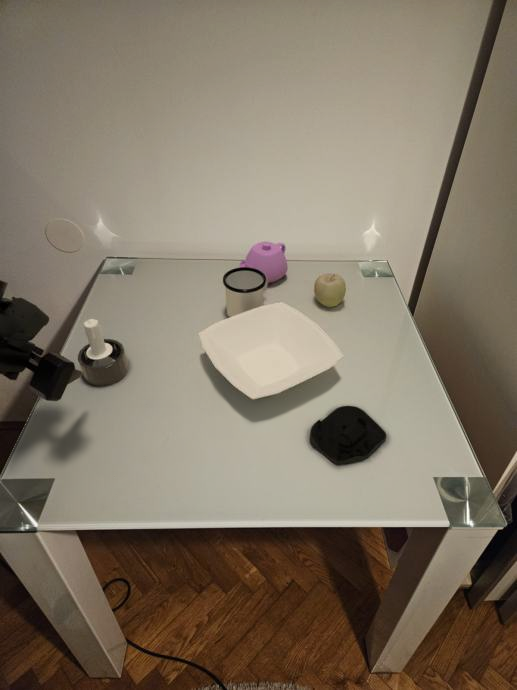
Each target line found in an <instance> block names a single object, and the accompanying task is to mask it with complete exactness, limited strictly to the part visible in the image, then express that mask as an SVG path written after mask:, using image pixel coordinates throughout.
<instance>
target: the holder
mask: <svg viewBox="0 0 517 690" xmlns="http://www.w3.org/2000/svg"><path fill="white" fill-rule="evenodd" d="M103 339H104V343H108V344H110V345H111V346H112V352H111V354H110V355H109V356H108V357H111V358H112V359H113V360H115V361H114V362H112V363H111V364H108V365H106V366H101V367H92V366H93V363H94V361H95V360H94V359H90V358H89V357H88V356H87V354H86V352H87V350H88V348H89V347H90V344H89V343H88V344H85V345H84V346H83V347H82V348H81V349H80V350H79V352H78V354H77V362H78V365H79V368H80V371H81V372H82V375H83V378H84V379H85V381H86V382H87V383H88V384H90V385H93V386H98V387H103V386H104V387H106V386H110V385H114V384H116V383H117V382H120V381H121V380H122V379H123V378H124V377H125V376H126V375H127V374H128V371H129V361H128V359H127V354H126V350H125V347H124V346H123V344H122V342H120V341H118V340H115V339H113V338H103Z"/></svg>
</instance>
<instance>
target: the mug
mask: <svg viewBox="0 0 517 690" xmlns="http://www.w3.org/2000/svg"><path fill="white" fill-rule="evenodd" d="M222 284H223V286H224V287H225V306H226V307H225V309H226V314H227V317H228V318H230V317H232V316H235V315H238V314H240V313H243V312H246V311H249V310H252V309H254V308H257V307H260V306H263V305H264V294H265V293H266V292H267V289H268V285H267V276H265V274H264V273H263V272H261V271H260V270H257V269H255V268H250V267H240V266H239V267H235V268H233V269H230V270H228V271H226V272H225V273H224V275H223V277H222Z"/></svg>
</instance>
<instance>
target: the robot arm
mask: <svg viewBox="0 0 517 690" xmlns="http://www.w3.org/2000/svg"><path fill="white" fill-rule="evenodd" d="M8 285H9V282H7V281H5V280H2V279H0V375H2V376H4V377H5V378H7V379H8V380H10V381H17V380H18V378H19V375H20V373H23V372H24V371H25V370H26V369H27V370H29V371H30V372H32V373H33V375H32V377H31V379H30V381H29V383H28V385H29V389H30V391H31V392H32V393H34V394H36V395H37V396H39V397H40V398H42V399H44V400H45V401H47V402H58V401H60V400H62V397H63V395H64V393H65V391H66V390H67V387H68V385H69V384H72V383H73V382H74V381H77V380H78V379H80V378H81V376H82V375H83V373H82V370H79V369H76V366H75V362H74V361H72V360H70V359H68V357H65V356H63V355H62V354H60V353H56V352H50V351H48V352H47V353H45V354H44V352H45V349H43V348H41V347H39V346H37V345H36V344H35V343H34V342H32V341H33V340H34V339H35V337H36V336H37V335H38V334H39V333H40V331H42V329H43V328H44V327H45V326H47V325H48V324H49V322H50V317H49V315H48V314H47V313H45V312H44V311H43V310H42V309H41V308H39V306H37V305H36V304H34V303H32V302H30V300H27V299H25V298H23V297H15V296H12V297H11V299H10V298H7V297H4V295H5V293H6V289H7V287H8ZM43 354H44V355H43Z"/></svg>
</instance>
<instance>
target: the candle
mask: <svg viewBox="0 0 517 690" xmlns="http://www.w3.org/2000/svg"><path fill="white" fill-rule="evenodd" d="M83 327H84V333H85V335H86V338H87V341H88V344H90V347H89V348H88V350H87V352H86V354H87V356H88V357H89V358H90V359H94V360H95V361H94V363H93V366H92V367H101V366H106V365H108V364H111V363H112V362H114V361H115V360H113V359H112V358H111V357H108V356H109V355H110V354H111V352H112V346H111V345H110V344H108V343H104V339H105V338H104V337H103V330H102V327H101V325H100V322H99V320H98V319H94V318H90V319H88V320H85V321H84V322H83Z"/></svg>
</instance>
